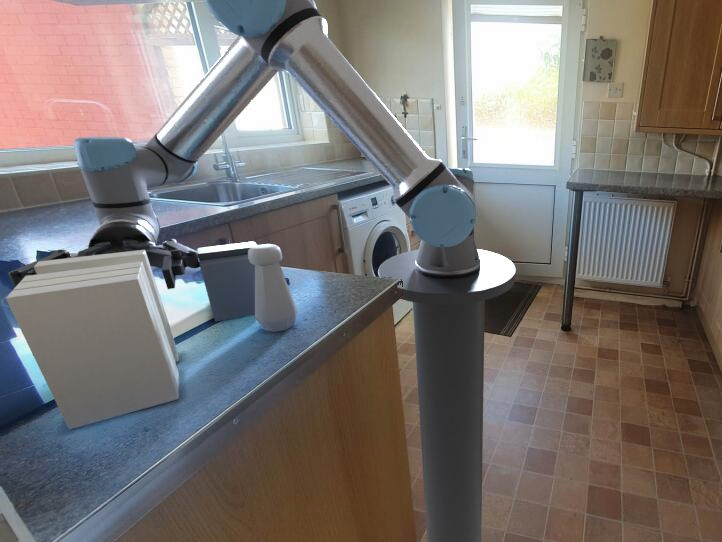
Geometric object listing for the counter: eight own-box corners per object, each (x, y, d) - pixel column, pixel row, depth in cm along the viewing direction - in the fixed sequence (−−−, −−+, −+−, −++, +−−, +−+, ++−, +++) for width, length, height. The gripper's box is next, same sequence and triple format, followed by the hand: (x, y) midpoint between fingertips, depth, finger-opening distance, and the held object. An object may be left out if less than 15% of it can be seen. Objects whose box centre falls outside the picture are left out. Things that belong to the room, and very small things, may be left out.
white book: (178, 354, 56) (145, 249, 50) (178, 361, 54) (144, 253, 48) (87, 375, 51) (38, 261, 45) (84, 383, 49) (33, 266, 43)
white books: (178, 372, 52) (142, 261, 46) (178, 399, 47) (137, 279, 41) (80, 397, 47) (25, 275, 41) (68, 430, 42) (5, 298, 36)
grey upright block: (265, 294, 75) (253, 238, 71) (272, 310, 69) (260, 250, 65) (212, 303, 70) (196, 245, 66) (215, 322, 64) (197, 259, 60)
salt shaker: (253, 336, 61) (234, 253, 56) (262, 319, 66) (245, 241, 61) (297, 332, 62) (282, 251, 57) (302, 315, 67) (288, 239, 62)
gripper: (218, 254, 75) (227, 296, 59) (27, 277, 61) (-29, 340, 45) (208, 213, 72) (215, 246, 56) (5, 229, 58) (-63, 277, 42)
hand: (105, 288), depth 50 cm, fingers open, 11 cm apart
